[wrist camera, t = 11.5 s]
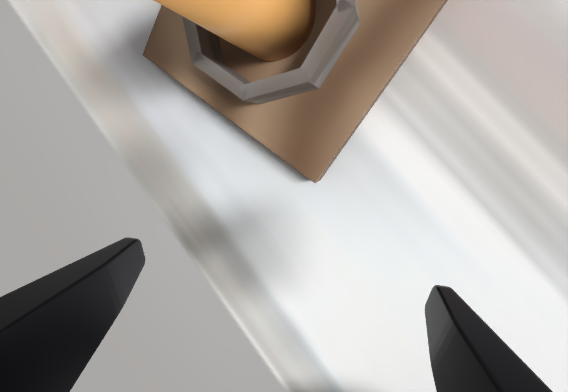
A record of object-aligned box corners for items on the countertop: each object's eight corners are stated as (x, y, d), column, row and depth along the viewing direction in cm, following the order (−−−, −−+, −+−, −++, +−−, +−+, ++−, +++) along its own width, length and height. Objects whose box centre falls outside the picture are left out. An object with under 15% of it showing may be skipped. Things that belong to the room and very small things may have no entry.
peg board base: (467, -29, 16) (487, -76, 13) (320, 180, 21) (303, 189, 18) (241, -149, 19) (204, -217, 16) (157, 59, 24) (113, 45, 20)
